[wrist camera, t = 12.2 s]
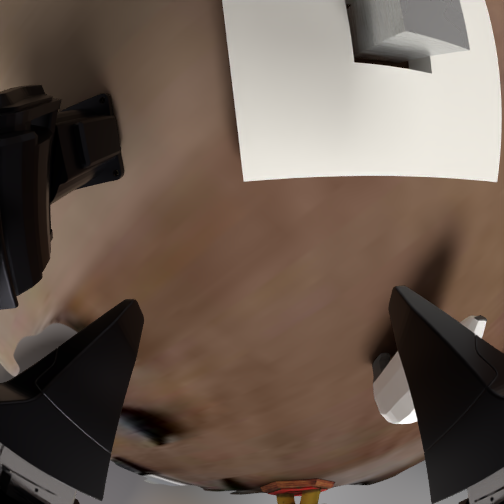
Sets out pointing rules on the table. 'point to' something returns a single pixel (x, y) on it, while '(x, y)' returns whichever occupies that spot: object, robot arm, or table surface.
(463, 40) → the long pin
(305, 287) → the table surface
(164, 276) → the table surface
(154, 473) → the table surface
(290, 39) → the hole block
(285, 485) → the figurine with light
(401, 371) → the giant panda
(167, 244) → the table surface
